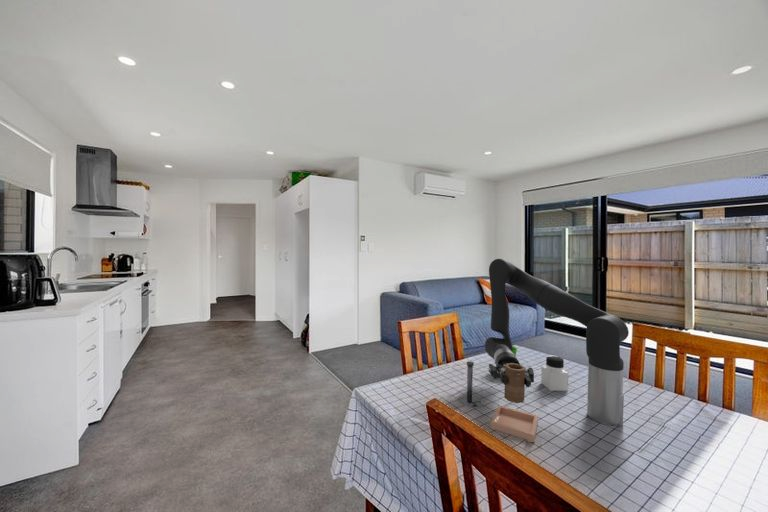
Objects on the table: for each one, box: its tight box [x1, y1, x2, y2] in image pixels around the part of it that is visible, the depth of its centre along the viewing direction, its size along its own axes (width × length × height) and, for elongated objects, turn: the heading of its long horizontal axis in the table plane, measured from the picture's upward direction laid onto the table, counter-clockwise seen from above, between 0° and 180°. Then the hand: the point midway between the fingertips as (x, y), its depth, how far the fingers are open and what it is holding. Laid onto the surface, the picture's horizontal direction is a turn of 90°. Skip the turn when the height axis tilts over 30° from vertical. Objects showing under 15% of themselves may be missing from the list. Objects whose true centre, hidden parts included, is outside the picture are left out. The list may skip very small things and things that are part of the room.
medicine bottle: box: [540, 355, 569, 392], centre depth 123 cm, size 7×7×12 cm
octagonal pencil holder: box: [504, 363, 526, 404], centre depth 94 cm, size 5×7×10 cm
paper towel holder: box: [457, 360, 482, 408], centre depth 109 cm, size 8×8×14 cm
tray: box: [489, 404, 539, 443], centre depth 95 cm, size 12×12×2 cm
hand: (516, 382), depth 93 cm, fingers closed on octagonal pencil holder, 6 cm apart
